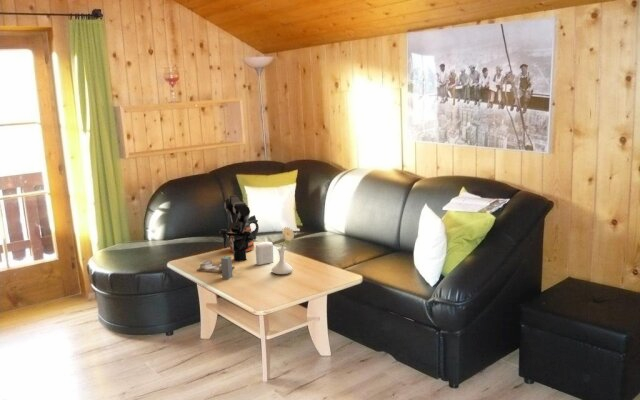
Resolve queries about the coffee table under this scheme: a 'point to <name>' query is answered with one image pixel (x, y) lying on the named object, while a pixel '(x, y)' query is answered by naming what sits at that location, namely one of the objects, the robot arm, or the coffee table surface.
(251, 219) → the beer stein
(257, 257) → the photo printer
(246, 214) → the robot arm
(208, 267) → the board
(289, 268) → the flower in vase
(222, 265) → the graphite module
